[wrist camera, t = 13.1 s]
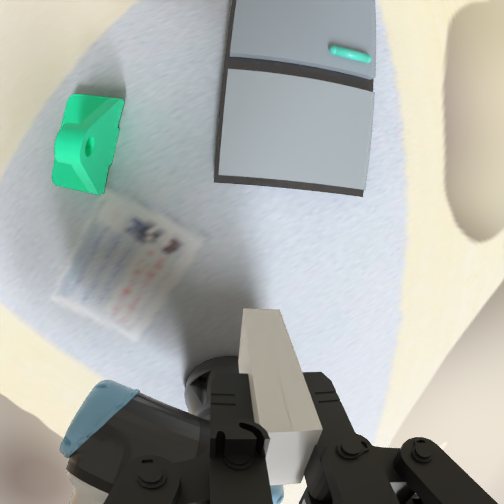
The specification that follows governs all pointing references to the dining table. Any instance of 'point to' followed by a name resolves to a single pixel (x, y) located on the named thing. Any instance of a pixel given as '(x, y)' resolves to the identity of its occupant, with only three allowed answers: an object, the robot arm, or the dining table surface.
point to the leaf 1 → (308, 33)
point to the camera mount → (86, 142)
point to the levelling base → (287, 70)
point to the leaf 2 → (295, 129)
